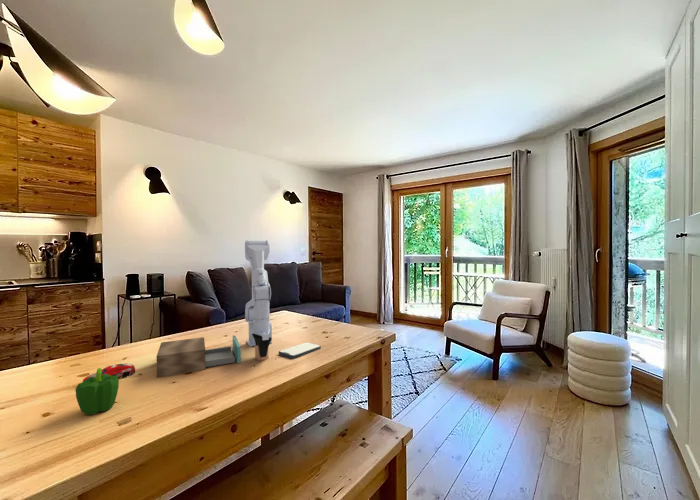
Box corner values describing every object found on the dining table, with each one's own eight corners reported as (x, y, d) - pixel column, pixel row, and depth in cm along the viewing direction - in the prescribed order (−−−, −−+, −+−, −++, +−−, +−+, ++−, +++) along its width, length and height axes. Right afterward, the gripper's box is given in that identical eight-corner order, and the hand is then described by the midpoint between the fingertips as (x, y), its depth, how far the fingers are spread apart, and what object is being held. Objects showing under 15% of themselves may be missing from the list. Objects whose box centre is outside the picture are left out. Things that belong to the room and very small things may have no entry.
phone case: (306, 345, 131) (277, 355, 118) (306, 341, 131) (277, 351, 118) (322, 349, 126) (293, 360, 113) (322, 345, 126) (293, 356, 113)
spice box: (204, 354, 118) (203, 337, 118) (205, 369, 104) (205, 349, 104) (161, 361, 112) (161, 342, 112) (156, 377, 98) (156, 356, 98)
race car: (84, 389, 90) (84, 376, 90) (80, 384, 94) (80, 371, 94) (137, 375, 100) (137, 362, 100) (132, 370, 104) (131, 359, 104)
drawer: (235, 349, 123) (235, 335, 123) (240, 362, 109) (240, 346, 109) (196, 355, 117) (196, 340, 117) (197, 370, 103) (197, 352, 103)
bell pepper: (108, 416, 75) (107, 375, 75) (68, 420, 73) (68, 379, 73) (125, 400, 83) (125, 363, 83) (90, 403, 82) (90, 365, 82)
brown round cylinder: (267, 355, 118) (266, 343, 118) (269, 359, 113) (269, 346, 113) (254, 357, 115) (253, 345, 115) (256, 361, 111) (256, 348, 111)
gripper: (247, 315, 119) (247, 350, 119) (253, 323, 106) (254, 362, 106) (265, 313, 122) (266, 347, 122) (274, 321, 109) (274, 359, 109)
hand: (261, 354), depth 114 cm, fingers closed on brown round cylinder, 5 cm apart
